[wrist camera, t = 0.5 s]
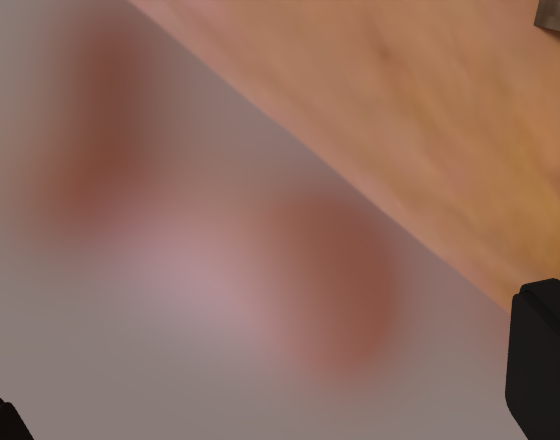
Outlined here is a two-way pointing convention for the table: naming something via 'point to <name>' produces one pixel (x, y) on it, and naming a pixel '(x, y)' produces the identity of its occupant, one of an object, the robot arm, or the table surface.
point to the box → (548, 14)
